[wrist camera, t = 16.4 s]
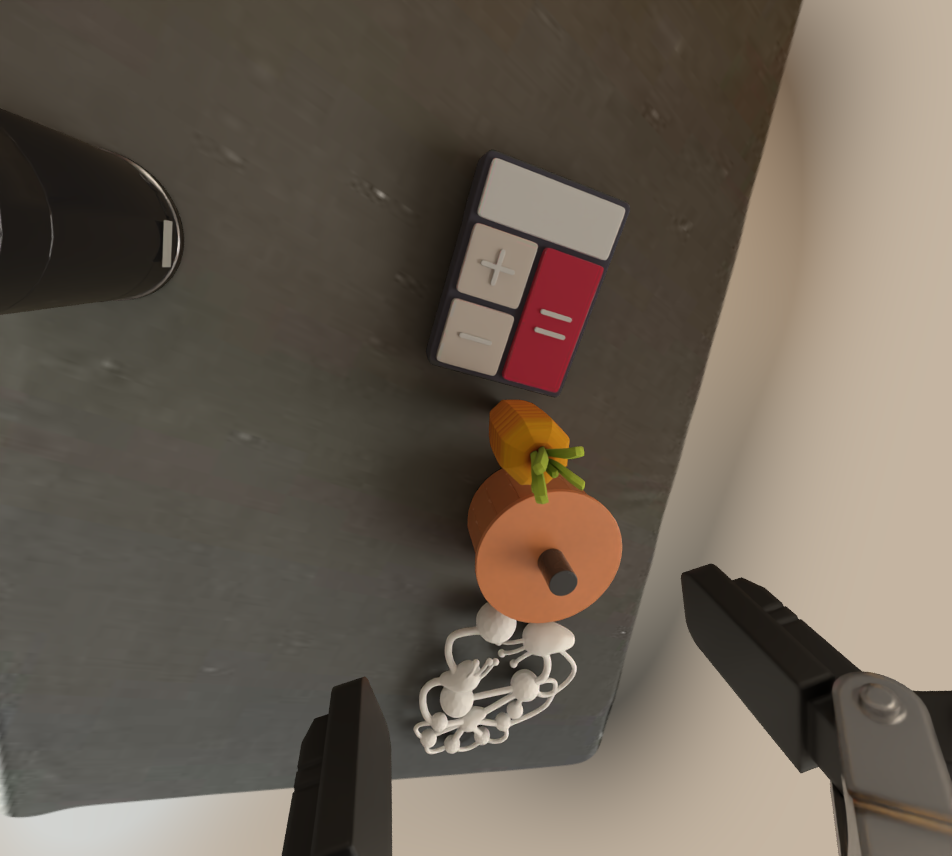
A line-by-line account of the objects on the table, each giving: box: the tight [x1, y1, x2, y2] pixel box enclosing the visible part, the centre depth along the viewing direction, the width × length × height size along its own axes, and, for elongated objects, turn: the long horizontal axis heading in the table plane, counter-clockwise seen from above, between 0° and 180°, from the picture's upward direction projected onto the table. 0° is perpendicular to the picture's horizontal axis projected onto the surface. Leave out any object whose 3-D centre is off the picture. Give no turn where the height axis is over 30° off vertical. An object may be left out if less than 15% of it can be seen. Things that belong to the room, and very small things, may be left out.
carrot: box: [489, 400, 585, 504], centre depth 35 cm, size 5×5×15 cm
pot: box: [467, 468, 586, 554], centre depth 42 cm, size 11×11×7 cm
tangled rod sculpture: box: [414, 602, 577, 754], centre depth 49 cm, size 19×14×4 cm
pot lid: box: [475, 489, 622, 623], centre depth 38 cm, size 12×12×4 cm
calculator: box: [426, 150, 630, 397], centre depth 37 cm, size 11×4×15 cm
